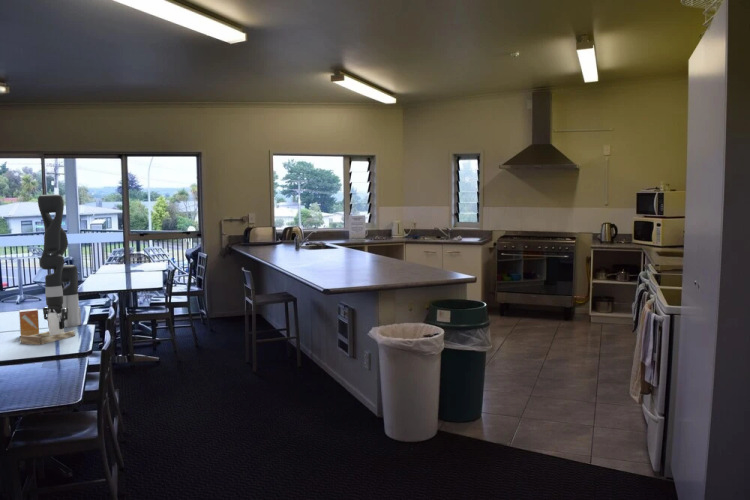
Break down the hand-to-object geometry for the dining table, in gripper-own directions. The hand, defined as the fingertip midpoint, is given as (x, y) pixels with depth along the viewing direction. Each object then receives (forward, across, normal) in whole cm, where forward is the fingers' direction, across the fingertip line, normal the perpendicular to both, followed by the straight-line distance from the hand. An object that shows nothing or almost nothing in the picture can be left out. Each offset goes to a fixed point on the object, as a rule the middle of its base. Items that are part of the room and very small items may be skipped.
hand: (56, 328), depth 292 cm
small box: (+5, +18, 0) cm, 18 cm away
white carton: (+4, 0, 0) cm, 4 cm away
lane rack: (+4, 0, +5) cm, 7 cm away
